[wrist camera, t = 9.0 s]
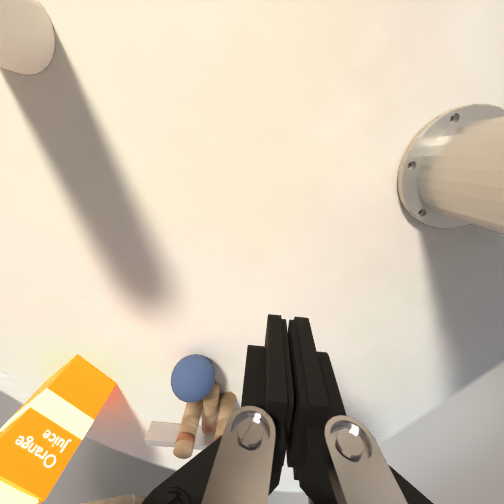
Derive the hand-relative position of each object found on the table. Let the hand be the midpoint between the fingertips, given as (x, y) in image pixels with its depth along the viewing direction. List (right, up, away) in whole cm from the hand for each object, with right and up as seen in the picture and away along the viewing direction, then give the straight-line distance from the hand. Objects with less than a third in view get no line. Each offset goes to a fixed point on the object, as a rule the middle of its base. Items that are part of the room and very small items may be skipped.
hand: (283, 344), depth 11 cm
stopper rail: (-8, -26, +33) cm, 43 cm away
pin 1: (-10, -19, +30) cm, 37 cm away
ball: (-9, -14, +25) cm, 30 cm away
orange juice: (-28, -17, +30) cm, 44 cm away
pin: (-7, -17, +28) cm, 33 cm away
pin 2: (-5, -19, +30) cm, 36 cm away
